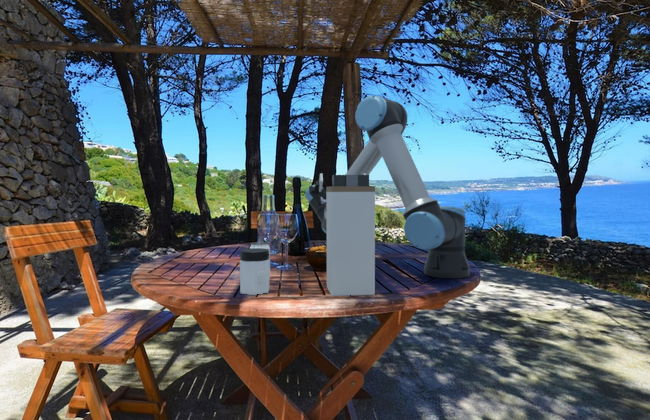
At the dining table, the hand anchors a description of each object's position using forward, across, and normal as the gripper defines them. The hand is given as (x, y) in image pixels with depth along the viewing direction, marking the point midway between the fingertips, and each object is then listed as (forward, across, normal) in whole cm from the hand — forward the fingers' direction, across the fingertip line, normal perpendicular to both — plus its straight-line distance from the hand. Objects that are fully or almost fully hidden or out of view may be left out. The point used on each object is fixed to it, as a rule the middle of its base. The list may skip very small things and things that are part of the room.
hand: (343, 177), depth 133 cm
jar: (-9, +27, -33) cm, 44 cm away
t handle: (+2, 0, -5) cm, 5 cm away
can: (-23, +26, -25) cm, 43 cm away
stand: (-8, 0, -34) cm, 34 cm away
